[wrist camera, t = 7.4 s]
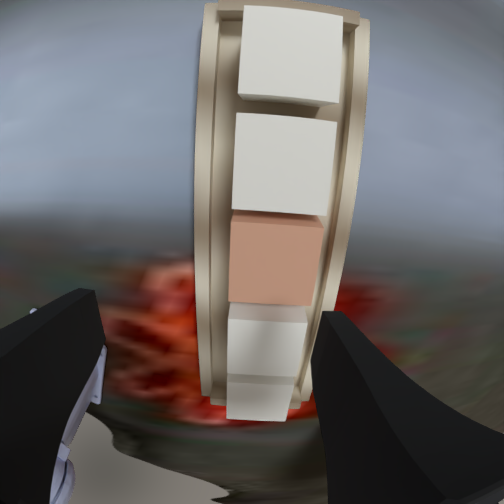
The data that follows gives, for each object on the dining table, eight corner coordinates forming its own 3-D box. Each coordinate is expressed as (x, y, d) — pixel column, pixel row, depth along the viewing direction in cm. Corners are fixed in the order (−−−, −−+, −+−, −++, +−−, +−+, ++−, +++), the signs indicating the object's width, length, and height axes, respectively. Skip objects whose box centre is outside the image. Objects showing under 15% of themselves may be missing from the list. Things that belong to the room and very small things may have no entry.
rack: (306, 384, 24) (309, 408, 21) (204, 379, 24) (200, 403, 21) (359, 28, 13) (374, 15, 11) (210, 13, 13) (202, -3, 11)
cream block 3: (291, 334, 20) (296, 376, 17) (232, 330, 20) (227, 373, 17) (299, 283, 19) (307, 323, 15) (234, 279, 19) (227, 318, 15)
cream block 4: (282, 380, 22) (285, 421, 19) (230, 377, 22) (226, 418, 19) (289, 342, 21) (294, 385, 17) (231, 339, 21) (226, 381, 17)
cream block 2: (311, 194, 16) (326, 215, 13) (238, 188, 16) (231, 208, 13) (319, 121, 15) (337, 122, 11) (242, 115, 15) (236, 112, 11)
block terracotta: (301, 268, 18) (311, 306, 15) (234, 264, 18) (228, 301, 15) (310, 203, 17) (324, 227, 13) (237, 198, 17) (231, 221, 13)
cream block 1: (320, 107, 14) (338, 103, 11) (243, 100, 14) (237, 93, 11) (324, 38, 13) (342, 16, 9) (247, 31, 13) (244, 5, 9)
